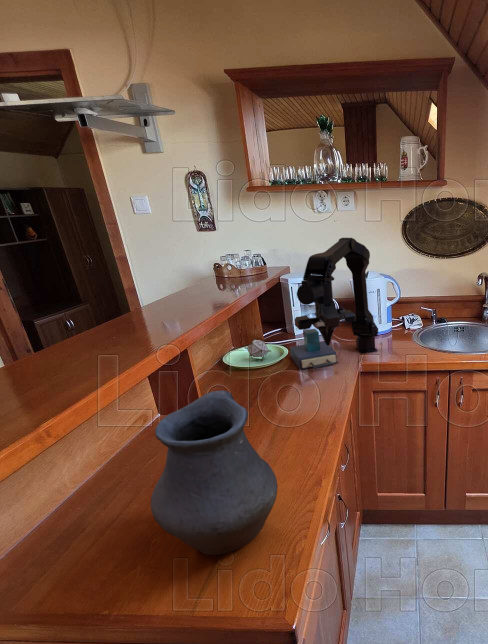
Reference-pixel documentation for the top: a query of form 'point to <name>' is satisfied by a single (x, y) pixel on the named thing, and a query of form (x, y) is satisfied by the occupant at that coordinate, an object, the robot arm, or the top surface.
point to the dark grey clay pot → (212, 477)
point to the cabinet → (309, 353)
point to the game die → (257, 348)
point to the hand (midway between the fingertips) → (327, 345)
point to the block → (311, 340)
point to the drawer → (319, 361)
